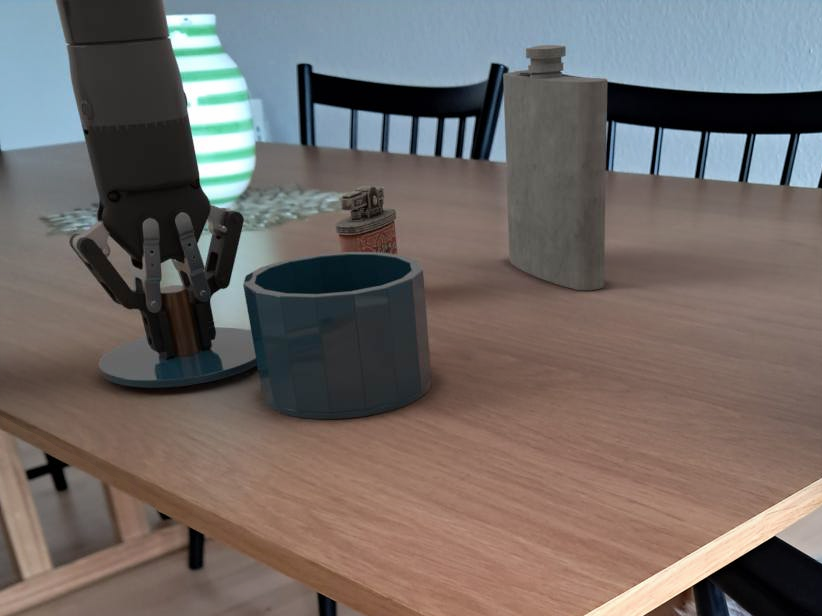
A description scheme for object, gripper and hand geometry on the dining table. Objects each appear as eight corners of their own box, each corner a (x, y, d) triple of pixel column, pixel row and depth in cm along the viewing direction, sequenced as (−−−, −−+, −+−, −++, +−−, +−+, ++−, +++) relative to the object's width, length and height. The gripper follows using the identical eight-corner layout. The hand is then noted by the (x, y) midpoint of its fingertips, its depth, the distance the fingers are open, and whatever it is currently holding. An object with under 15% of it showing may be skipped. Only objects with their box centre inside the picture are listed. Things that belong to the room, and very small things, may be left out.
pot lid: (87, 402, 77) (64, 320, 73) (118, 348, 88) (99, 275, 85) (267, 386, 78) (253, 304, 74) (274, 335, 89) (263, 262, 86)
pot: (259, 426, 71) (237, 303, 66) (268, 369, 81) (250, 259, 76) (438, 410, 72) (428, 287, 67) (424, 355, 82) (415, 246, 77)
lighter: (381, 287, 101) (370, 178, 96) (410, 289, 100) (400, 179, 94) (337, 309, 95) (322, 194, 90) (368, 311, 94) (355, 196, 88)
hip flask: (610, 286, 97) (615, 45, 86) (573, 293, 95) (573, 49, 84) (530, 256, 109) (525, 41, 98) (496, 261, 107) (488, 44, 96)
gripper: (202, 100, 79) (242, 324, 88) (20, 122, 72) (85, 361, 81) (245, 106, 73) (282, 342, 83) (54, 129, 67) (118, 383, 76)
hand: (184, 350), depth 82 cm, fingers closed
